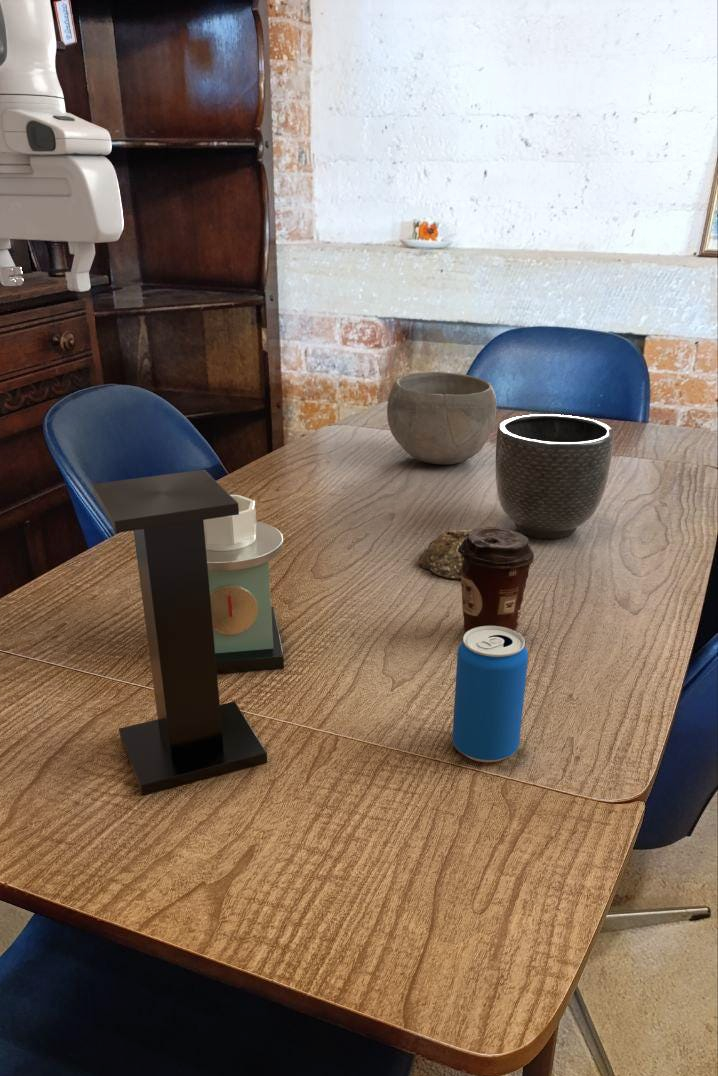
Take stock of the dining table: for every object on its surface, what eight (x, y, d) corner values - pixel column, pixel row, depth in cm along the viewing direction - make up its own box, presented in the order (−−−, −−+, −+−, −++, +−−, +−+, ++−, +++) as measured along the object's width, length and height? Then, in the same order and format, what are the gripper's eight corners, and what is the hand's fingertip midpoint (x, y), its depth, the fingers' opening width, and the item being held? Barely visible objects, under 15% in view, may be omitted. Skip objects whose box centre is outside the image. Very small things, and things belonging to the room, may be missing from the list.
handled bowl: (130, 517, 104) (126, 485, 102) (179, 503, 108) (175, 472, 106) (219, 556, 94) (216, 521, 92) (268, 538, 98) (267, 504, 96)
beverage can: (532, 753, 85) (544, 645, 79) (480, 775, 82) (488, 664, 76) (489, 722, 90) (498, 617, 84) (438, 741, 87) (444, 634, 81)
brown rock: (515, 553, 129) (518, 522, 127) (500, 587, 119) (503, 553, 116) (430, 543, 132) (431, 512, 130) (409, 575, 122) (410, 542, 120)
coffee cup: (457, 653, 103) (463, 550, 96) (448, 621, 110) (453, 523, 104) (531, 652, 103) (542, 549, 97) (517, 620, 110) (527, 522, 104)
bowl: (510, 470, 165) (516, 389, 158) (404, 479, 160) (407, 396, 153) (469, 440, 183) (473, 366, 175) (373, 448, 178) (373, 372, 171)
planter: (472, 516, 143) (478, 418, 135) (566, 505, 147) (577, 410, 140) (520, 556, 128) (530, 448, 121) (623, 542, 133) (639, 438, 125)
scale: (177, 624, 109) (166, 522, 103) (282, 617, 111) (277, 516, 104) (176, 677, 98) (164, 566, 91) (292, 667, 100) (288, 558, 93)
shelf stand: (119, 735, 88) (80, 485, 75) (234, 708, 92) (215, 468, 80) (142, 795, 79) (102, 525, 67) (267, 762, 84) (252, 503, 71)
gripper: (-81, 134, 86) (-50, 285, 92) (75, 130, 77) (97, 297, 84) (-28, 136, 91) (-2, 279, 97) (124, 133, 82) (141, 290, 89)
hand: (45, 288), depth 91 cm, fingers open, 8 cm apart
